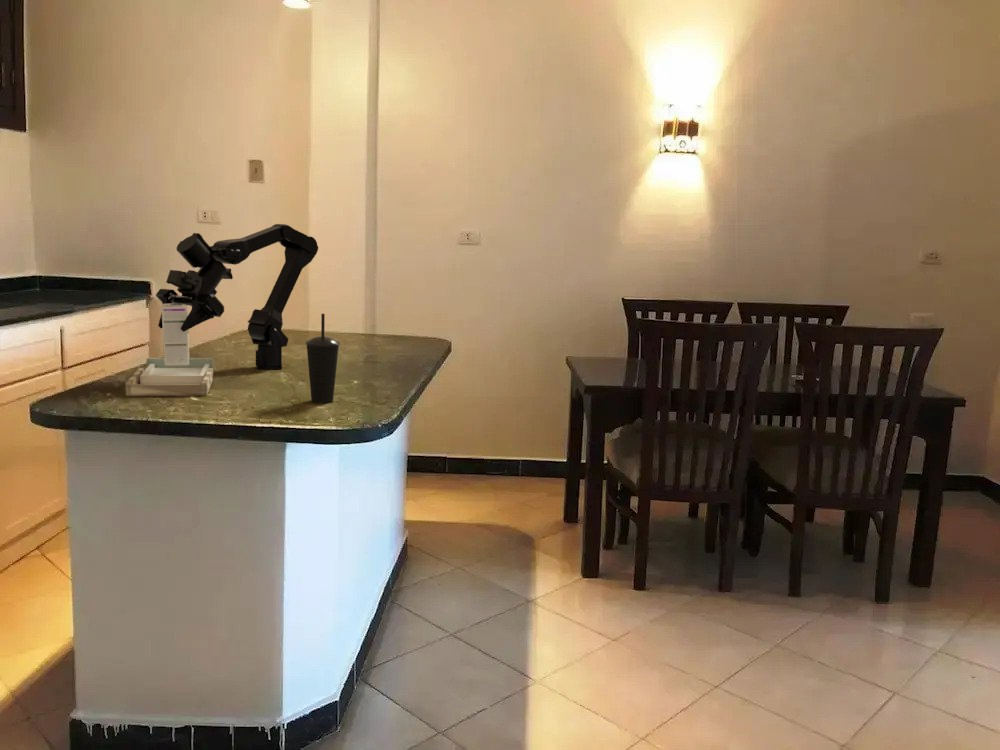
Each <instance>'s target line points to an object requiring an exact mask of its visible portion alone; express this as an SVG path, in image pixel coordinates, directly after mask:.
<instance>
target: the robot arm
mask: <svg viewBox="0 0 1000 750" xmlns="http://www.w3.org/2000/svg"><path fill="white" fill-rule="evenodd" d="M277 243H279V244H280V246H282V247H284V248H285V249H284V259H285V260H284V264H283V266H282V268H281V270H280V273H279V275H278V277H277V279H276V281H275V283H274V285H273V287H272V290H271V292H270V294H269V296H268V298H267V300H266V302H265V304H264V306H263V307H262V308H261V309H257V308H254V310H253V311H252V313H251V316H250V317H249V319H248V321H247V323H248V324H247V325H248V326H247V331H248V335H249V336H250V339H251V342H252V344H253V345H257V349H256V350H255V366H256V368H257V369H258V370H282V369H283V360H282V359H283V354H282V352H283V351H282V349H283V347H287V346H288V342H289V337H287V335H286V334H285V332H283V331H282V328H283V325H284V323H283V313H284V309H285V308H286V305H287V303H288V302H289V299H290V298H291V297H290V296H291V295H292V293H293V291H294V288H295V285H296V283H297V281H298V279H299V277H300V275H301V273H302V270H303V269H304V268H305V267H306V266H308V265H309V264H311V262H312V261H313V260H314V258H315V257H316V255H317V253H318V251H319V246H318V242H317V240H316V239H315V238H314V237H313V236H310V235H309V236H308V235H307V234H305V233H303V232H301V231H299V230H298V229H295V228H293V227H292V226H290V225H289V224H286V223H285V224H284V223H275V224H273V225H272V226H270V227H266V228H264V229H262V230H259V231H257V232H254V233H251V234H249V235H246V236H244V237H241V238H232V239H229V238H228V239H224V240H217V241H215V242H214V243H213V244H212V245H211V246H210V245H209V244H208V243H207V241H205V239H204V237H203V235H202V234H201V233H196V232H193V233H192V234H191V235H190V236H187V237H185V239H182V240H181V241H180V242H178V244H177V246H176V251H177V252H178V254H179V255H180V256H181V257H182V258H183V259H184V260H185V261H186V262H187V263H188V264H189V266H190V267H192V268H199V270H197V271H195V270H193V269H192V270H190V269H189V270H188V271H182V270H174V269H169V272H168V274H167V275H168V276H167V279H166V281H165V282H166V283H167V284H170V285H172V286H174V287H176V288H177V289H176V290H177V292H178V293H180V294H181V295H179V294H178V293H177V292H176V291H175V289H171V288H160V289H159V290H158V291H157V292H156V294H155V297H156V298H157V299H158V300H159V301H160V302H161V304H162V305H163V304H168V303H183V304H187V306H189V307H191V310H190V311H189V313H188V314H187V318H186V320H185V321H184V323H183V325H182V327H181V330H182V331H183V332H184V331H186V330H188V331H189V330H190V329H192V328H194V327H196V326H197V325H201V323H202V324H203V323H204V322H206V321H209V320H212V319H214V318H215V317H216V318H217V317H218V318H220V317H222V315H223V313H224V312H225V305H224V304H223V303H222V302H221V300H219V298H218V297H217V296H216V295H217V293H218V291H217V290H216V288H217V287H218V286H219V284H220V283H221V281H222V280H233V278H234V277H233V273H232V269H231V268H227V267H226V266H225V264H226V265H234V266H235V265H240V264H241V263H242V262H244V261H245V260H247V259H248V258H249V256H250V255H251V254H252V253H254V252H257V251H259V250H262V249H264V248H267V247H269V246H271V245H274V244H277ZM157 326H158V327H159V328H160V329H163V328H162V312H161V314H160V317H159V322H158V325H157Z"/></svg>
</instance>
